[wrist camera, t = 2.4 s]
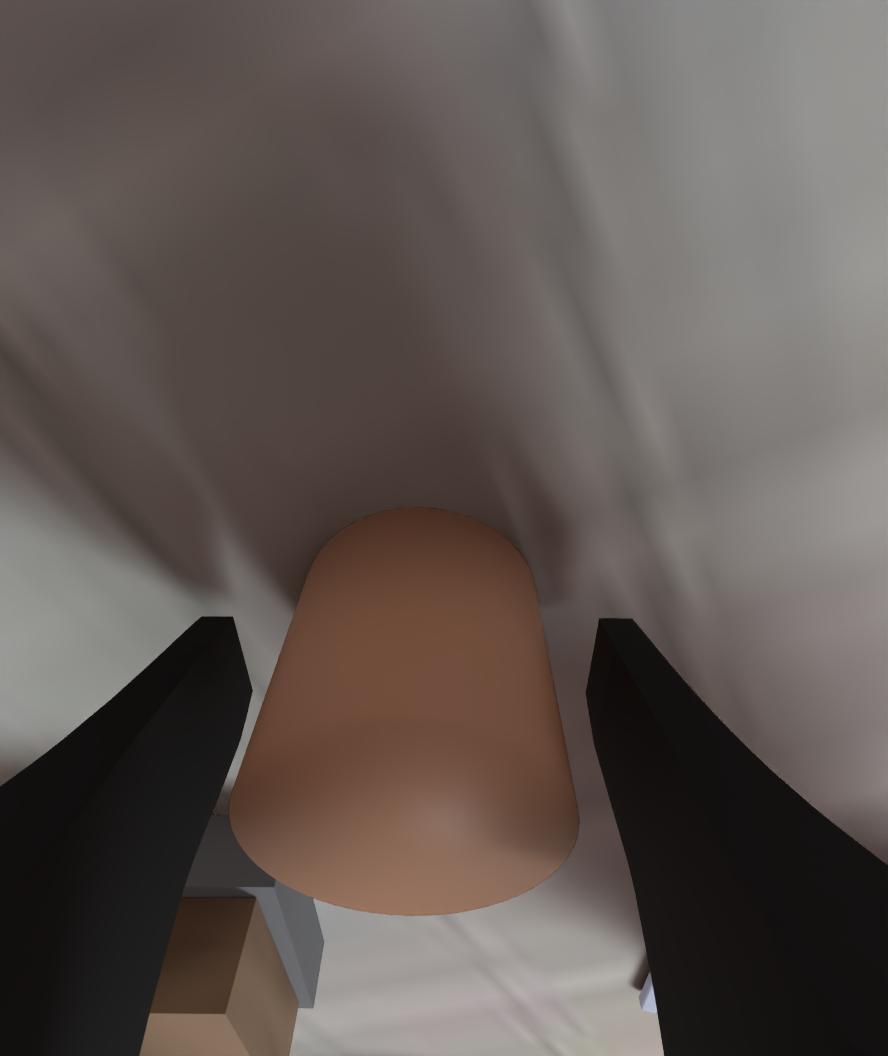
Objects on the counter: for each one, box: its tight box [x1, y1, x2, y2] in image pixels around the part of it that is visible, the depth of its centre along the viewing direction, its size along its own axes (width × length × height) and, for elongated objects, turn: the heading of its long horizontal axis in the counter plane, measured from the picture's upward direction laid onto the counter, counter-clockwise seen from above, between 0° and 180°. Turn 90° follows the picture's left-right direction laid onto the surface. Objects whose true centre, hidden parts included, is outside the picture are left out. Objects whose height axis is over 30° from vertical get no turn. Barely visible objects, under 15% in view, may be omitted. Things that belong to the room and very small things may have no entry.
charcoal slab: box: [182, 815, 324, 1008], centre depth 19 cm, size 8×8×2 cm
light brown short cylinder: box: [229, 508, 579, 916], centre depth 10 cm, size 5×5×5 cm
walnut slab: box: [139, 898, 299, 1056], centre depth 16 cm, size 7×7×2 cm
